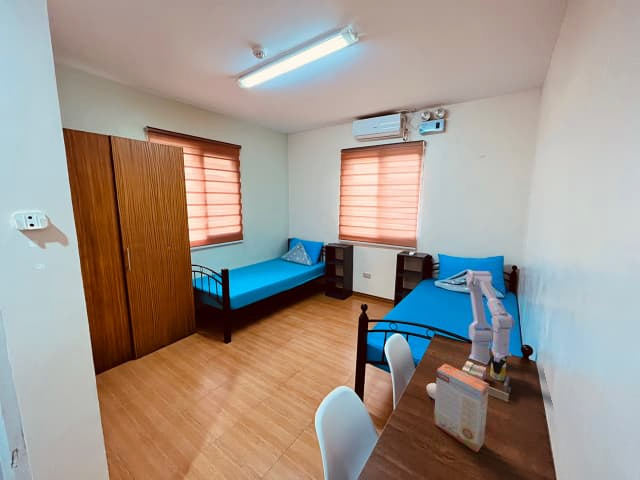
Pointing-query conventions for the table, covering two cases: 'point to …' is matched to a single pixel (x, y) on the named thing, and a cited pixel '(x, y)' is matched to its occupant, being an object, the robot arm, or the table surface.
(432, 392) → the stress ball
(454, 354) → the table surface
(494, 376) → the supplement bottle
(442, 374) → the cracker box
